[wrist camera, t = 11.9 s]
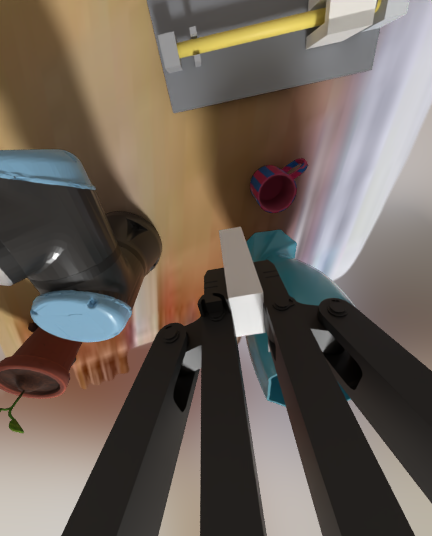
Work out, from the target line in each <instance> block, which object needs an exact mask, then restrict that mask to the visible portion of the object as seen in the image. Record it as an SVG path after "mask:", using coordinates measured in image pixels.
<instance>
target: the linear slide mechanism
mask: <svg viewBox="0 0 432 536" xmlns="http://www.w3.org/2000/svg"><path fill="white" fill-rule="evenodd" d="M409 1H410V0H377V2H376V8H375V13H374V19H373V24H372V25H371V26H369V27H367V28H365V29H364V30H362V31H360V32H358V33H356V34H355V35H353V36H351V37H349V38H347V39H346V40H344V41H341V42H337V43H332V44H328V45H323V46H319V47H315V48H310V49H306V37H307V36H308V35H310V34H311V33H312V32H314V31H315V30H316V29H317V28H319V27H320V26H321V25H322V24H324V23H325V13H326V7H325V8H320V9H316V10H312V11H308V2H309V0H147V3H148V7H149V12H150V16H151V20H152V24H153V29H154V33H155V37H156V41H157V46H158V50H159V54H160V58H161V63H162V67H163V71H164V75H165V79H166V84H167V88H168V92H169V96H170V101H171V105H172V109H173V113H178V112H183V111H187V110H192V109H196V108H201V107H206V106H210V105H215V104H219V103H224V102H229V101H233V100H238V99H242V98H247V97H251V96H256V95H261V94H265V93H270V92H274V91H279V90H283V89H288V88H293V87H297V86H302V85H306V84H311V83H315V82H320V81H325V80H329V79H334V78H338V77H343V76H347V75H352V74H357V73H361V72H366V71H369V70H372V67H373V61H374V56H375V51H376V46H377V41H378V36H379V31H380V28H381V27H383V26H385V25H386V24H388V23H390V22H392V21H394V20H396V19H398V18H400V17H402V16H404V15H406V13H407V9H408V5H409Z"/></svg>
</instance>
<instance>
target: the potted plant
mask: <svg viewBox="0 0 432 536" xmlns="http://www.w3.org/2000/svg"><path fill="white" fill-rule="evenodd" d="M28 329H29V330H30V331H31V332H34V333H33V334H32V335H31V336H30V337H29V338H28V339H27V340H26V341H25V342H24V344H23V345H22V346H21V347H20V348H19V349H18V350H17V351H16V352H15V354H14V355H13V356H11V357H7V358H5V359H4V360H2V361H1V362H0V389H2V390H4V391H6V392H8V393H12V394H15V395H18V396H19V397H18V398H17V400H16V401H15V402H14V404H13V405H12V406H11V407H10V408H6V409H3V408H0V412H1V410H4V411H6V410H9V412H8V416H9V417H10V418H11V419H12V420H11V421H10V423H9V428H10V429H11V430H12V431H15V432H19V433H24V431H23V429H22V428H21V427H20V425H19V424H18V422H17V421H16V419H14V418H13V417H12V415H11V410H12V409H13V407H14V406H15V404H16V403H17V402H18V400H19V399H20V398H21V396H23V397H28V398H40V399H41V398H52V397H57V396H59V395H61V394H63V393H64V391H65V390H66V387H67V385H68V383H69V380H70V373H69V370H70V368H71V366H72V365H73V363H74V362H75V361H76V358H75V357H76V355H77V352H78V350H79V348H80V346H81V344H82V342H79V341H73V340H68V339H64V338H60V337H57V336H55V335H53V334H50V333H48V332H46V331H45V330H43V329H42V328H40V327H39V326H38V325H37V324H35V323H30V325H29V327H28Z"/></svg>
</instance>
